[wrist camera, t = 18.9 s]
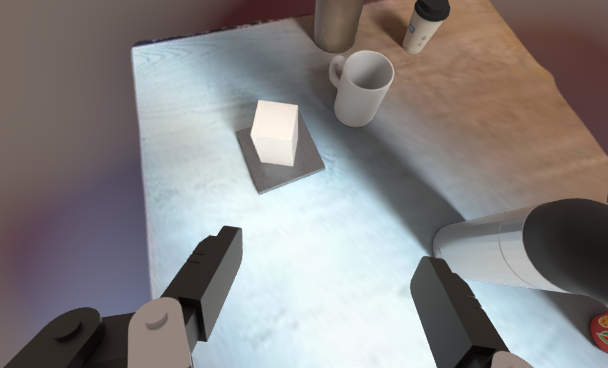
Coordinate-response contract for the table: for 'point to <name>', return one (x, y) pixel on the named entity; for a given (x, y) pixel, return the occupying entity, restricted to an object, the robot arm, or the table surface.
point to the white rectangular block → (275, 132)
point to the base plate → (280, 175)
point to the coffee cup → (424, 23)
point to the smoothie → (600, 331)
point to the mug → (360, 86)
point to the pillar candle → (336, 24)
